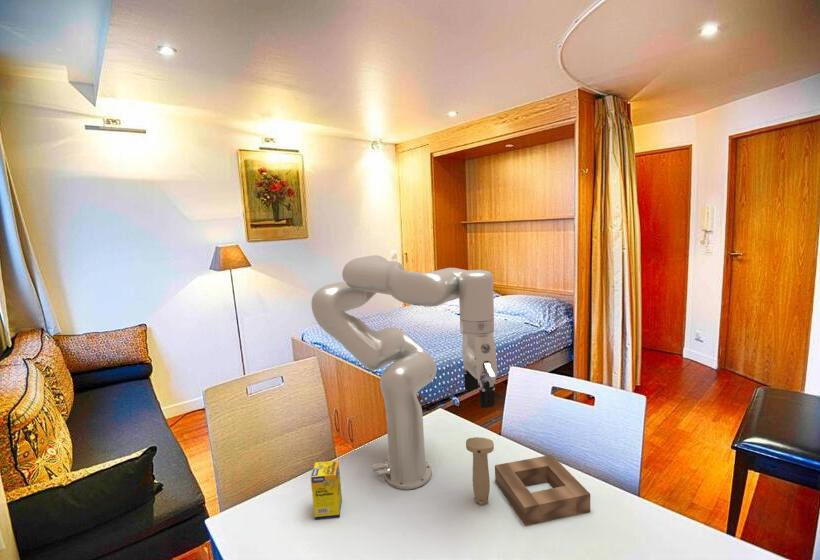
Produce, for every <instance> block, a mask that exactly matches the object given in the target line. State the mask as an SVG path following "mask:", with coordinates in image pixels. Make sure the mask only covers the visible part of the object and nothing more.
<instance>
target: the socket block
mask: <svg viewBox="0 0 820 560" xmlns="http://www.w3.org/2000/svg"><path fill="white" fill-rule="evenodd" d="M494 480H495V481H494V482H495V483H496V485H497V486H498V487H499V490H501V492H502V494H503V496H504V497H505V499H506V501H508V503H509V505H510V506H511V507H512V510H513V511H514V512H515V514H516V515H517V516H518V518H519V520H520V522H521V523H522V525H523V526H524V527H527V526H532V525H537V524H542V523H546V522H550V521H551V522H552V521H555V520H560V519H565V518H569V517H574V516H577V515H584V514H588V513H591V493H590V492H589V491H588V490H587V488H585V486H584V485H582V484H581V483H580V482H579V481H578V480H577V478H576V477H575V476H573V475H572V473H570V472H569V470H568V469H567V468H566V467H565V466H563V464H562V463H561V462H560V461H559V460H558V459H557V458H556V457H555V456H554V455H553V454H549V455H544V456H539V457H537V456H536V457H532V458H527V459H523V460H522V459H521V460H520V459H519V460H515V461H510V462H505V463H499V464H495V465H494ZM546 483H548V484H549V485H550V487H551V488H548V489H542V490H537V491H532V492H531V491H529V489H528V488H527V487H531V486H535V485H542V484H546Z"/></svg>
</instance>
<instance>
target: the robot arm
mask: <svg viewBox="0 0 820 560" xmlns="http://www.w3.org/2000/svg"><path fill="white" fill-rule="evenodd" d="M341 274H342V275H341V276H342V279H343V281H340V282H339V281H338V282H335V283H334V282H333V283H332V284H331V283H329V284H327V285H324V286H322V287H320V288H319V289H318V290H316V291H315V292H314V293H313V296H312V297H311V301H310V302H311V310H312V314H313V317H314V319H315V321H316V323H317V324H318V325H319V326H320V328H321V329H322V330H323V331H324V332H326V333H327V334H328V335H329V336H331V337H332V338H333V339H335V340H336V341H337V342H338V343H340V344H341V345H342V346H343V347H344V349H346V350H347V351H348V353H350V354H351V355H352V356H353V357H354V358H355V360H357V361H358V362H359V363H360V364H361V365H362V366H364V368H366V369H368V370H369V371H377V370H380V369H382V368H384V367H386V366H387V365H388V366H387V367H386V368H385V369H384V370H383V372H381V375H380V379H379V386H380V390H381V393H382V396H383V401H384V407H385V415H386V418H385V419H386V428H387V441H388V456H387V457H386V459H387V460H383V462H378V463H372V464H371V465H372V472H373V473H374V472H377V473H378V476H383V475H384V478H385V479H384V480H385V481H386V483H388V484H389V485H390V486H391V487H393V488H396V489H399V490H412V489H417V488H421V487H422V486H424V485H426V483H428V482H429V481H430V479H431V478H432V467H431V465H430V463H428V461H426V450H425V434H424V433H425V432H424V418H423V416H424V415H423V409H422V405H421V403H420V401H419V400H418V395H417V394H418V392H419V391H420V390H422V389H424V387H427V386H428V385H429V384H430V383H432V381H434V379H435V377H436V376H437V371H438V370H437V365H436V362H435V360H434V358H433V356H431V355H430V354H429V352H428V351H426V350H425V349H424V348H423V347H422V346H421V345H419V344H418V342H416V341H415V340H414V339H413V338H411V337H410V336H409V335H408V334H407V333H405V332H404V331H403V330H401V329H399V328H396V327H391V326H390V327H386V328H382V329H380V330H373V329H372V328H370V327H369V326H368V325H367V324H366V323H365V322H364V321H363V320H361V319H360V318H358V317H356V316H354V315H351V314H349V313H347V312H349V311H351V310H354V309H358V308H361V307H363V306H364V305H366V304H367V303H368V302H369V301H371V299H373V297H375V295H376V294H381V295H387V296H391V297H392V298H393V299H395V300H397V301H398V302H400V303H404V304H408V305H414V306H419V307H420V306H421V307H428V308H429V307H432V308H433V307H438V306H441V305H443V304H445V303H447V302H451V301H454V300H457V299H458V300H459V301H458V302H459V304H458V305H459V327H460V328H459V330H460V331H459V332H460V334H462V362H463V363H462V364H463V366H464V367H463V373H464V374H463V375H464V377H463V379H464V381H463V382H464V390H466V391H470V390H477V389H478V388H479V387H480V389H479V390H478V391H479V392H478V393H479V395H478V396H479V407H480V409H486V408H487V409H488V408H493V407H495V387H496V380H497V376H498V363H497V362H498V361H497V349H496V342H495V337H494V333H495V310H494V308H495V307H494V304H495V301H494V300H495V299H494V276H493V273H491V271H488V270H484V269H470V270H469V269H468V270H467V269H462V268H457V267H446V268H442V269H438V270H434V271H430V272H419V271H418V272H416V271H410V270H409V271H408V270H405V267H404V266H403V264H402V263H400V261H393V260H387V259H386V258H385V257H383V256H381V255H377V254H376V255H368V256H362V257H356V258H353V259H351V260H349V261H348V262H347V263H346V264H344V266H343V269H342V272H341ZM484 381H485V382H484Z"/></svg>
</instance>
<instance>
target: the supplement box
mask: <svg viewBox="0 0 820 560" xmlns="http://www.w3.org/2000/svg"><path fill="white" fill-rule="evenodd" d="M339 463H340V462H339V460H330V461H329V460H328V461H319V462H318V461H316V462H314V464H313V465H314V466H313V469H312V472H311V474H310V483H311V494H312V504H313V514H314V520H316V521H317V520H325V519H334V518H336V519H338V518H340V517H341V508H342V503H343V494H342V485H341V474H340V473H341V472H340V464H339Z"/></svg>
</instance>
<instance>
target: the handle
mask: <svg viewBox="0 0 820 560" xmlns="http://www.w3.org/2000/svg"><path fill="white" fill-rule="evenodd" d="M494 445H495V443H494V441H493V440H492V439H490V438H487V437H486V438H485V437H479V436H478V437H469V438H467V439H466V440H465V447H466V450H467V451H468V452H470V453H472V488H473V494H474V501H475V503H476V504H479V506H484V505H487V504H488V503H489V495H490V488H491V487H490V485H491V483H490V472H489V471H490V470H489V462H488V460H489V459H488V455H489V454H491V453H492V452H493V451H494V447H495V446H494Z"/></svg>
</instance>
